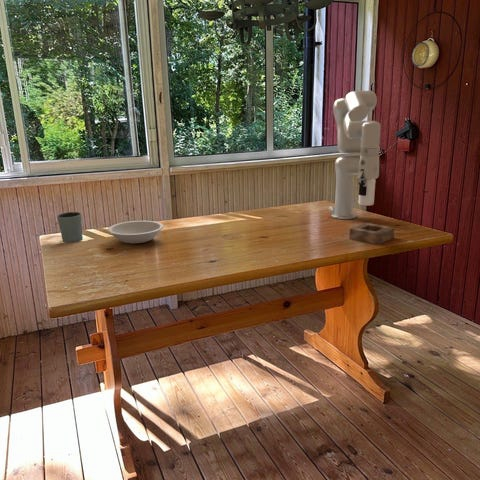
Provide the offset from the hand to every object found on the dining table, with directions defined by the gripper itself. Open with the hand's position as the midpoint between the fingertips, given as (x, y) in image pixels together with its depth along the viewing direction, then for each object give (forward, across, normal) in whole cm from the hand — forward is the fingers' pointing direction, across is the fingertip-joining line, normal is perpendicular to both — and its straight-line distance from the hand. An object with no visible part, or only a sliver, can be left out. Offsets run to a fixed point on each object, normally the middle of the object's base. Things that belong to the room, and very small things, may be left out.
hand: (366, 193), depth 194 cm
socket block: (+20, +2, -3) cm, 20 cm away
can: (+5, 0, 0) cm, 5 cm away
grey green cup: (+20, -91, +94) cm, 132 cm away
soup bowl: (+20, -72, +71) cm, 103 cm away
